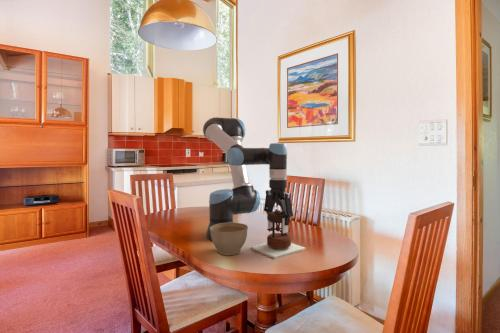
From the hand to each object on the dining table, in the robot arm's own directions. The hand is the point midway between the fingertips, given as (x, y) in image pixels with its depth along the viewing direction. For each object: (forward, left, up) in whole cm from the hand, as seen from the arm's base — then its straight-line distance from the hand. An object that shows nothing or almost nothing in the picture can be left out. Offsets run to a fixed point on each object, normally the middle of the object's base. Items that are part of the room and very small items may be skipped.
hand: (277, 230), depth 131 cm
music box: (0, 0, -7) cm, 7 cm away
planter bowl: (-10, -19, -9) cm, 23 cm away
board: (0, 0, -8) cm, 8 cm away
